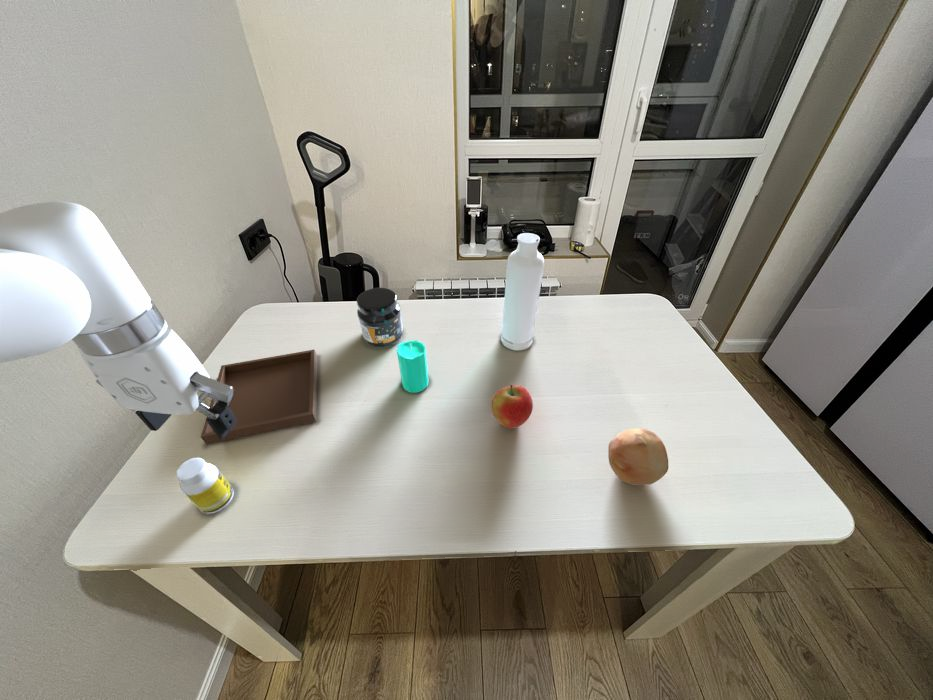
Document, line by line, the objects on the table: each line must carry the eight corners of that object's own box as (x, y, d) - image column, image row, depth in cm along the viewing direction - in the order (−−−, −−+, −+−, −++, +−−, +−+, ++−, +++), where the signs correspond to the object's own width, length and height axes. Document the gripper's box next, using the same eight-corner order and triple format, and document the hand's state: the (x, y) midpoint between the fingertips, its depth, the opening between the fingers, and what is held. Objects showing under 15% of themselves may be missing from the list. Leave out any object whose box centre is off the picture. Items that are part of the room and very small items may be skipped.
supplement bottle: (241, 494, 66) (216, 463, 60) (211, 520, 63) (182, 491, 56) (223, 479, 68) (197, 448, 62) (193, 504, 65) (163, 473, 58)
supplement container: (360, 349, 95) (350, 310, 87) (366, 324, 103) (358, 286, 95) (402, 348, 95) (396, 310, 87) (405, 323, 103) (400, 285, 95)
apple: (506, 443, 74) (510, 410, 67) (483, 416, 79) (484, 383, 72) (537, 425, 77) (544, 392, 71) (513, 400, 82) (517, 367, 76)
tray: (206, 445, 74) (200, 437, 72) (226, 373, 89) (221, 365, 87) (316, 421, 78) (312, 413, 76) (317, 357, 93) (314, 349, 91)
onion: (653, 506, 65) (675, 475, 58) (595, 480, 68) (609, 448, 62) (661, 462, 71) (682, 430, 64) (608, 441, 74) (622, 408, 68)
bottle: (500, 329, 101) (508, 229, 82) (531, 330, 101) (545, 230, 82) (501, 349, 95) (510, 246, 76) (533, 350, 95) (550, 247, 76)
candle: (397, 389, 85) (390, 349, 77) (409, 371, 89) (403, 331, 81) (422, 395, 83) (417, 355, 75) (432, 377, 88) (429, 337, 80)
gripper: (11, 342, 38) (115, 442, 49) (168, 356, 36) (238, 456, 48) (78, 301, 44) (157, 399, 55) (216, 312, 42) (269, 411, 53)
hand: (195, 426), depth 51 cm, fingers open, 9 cm apart
